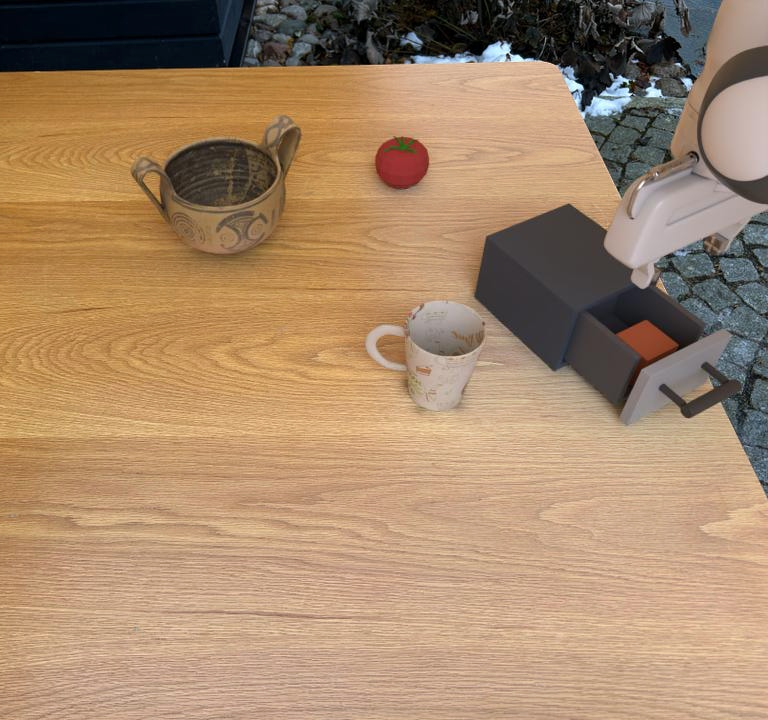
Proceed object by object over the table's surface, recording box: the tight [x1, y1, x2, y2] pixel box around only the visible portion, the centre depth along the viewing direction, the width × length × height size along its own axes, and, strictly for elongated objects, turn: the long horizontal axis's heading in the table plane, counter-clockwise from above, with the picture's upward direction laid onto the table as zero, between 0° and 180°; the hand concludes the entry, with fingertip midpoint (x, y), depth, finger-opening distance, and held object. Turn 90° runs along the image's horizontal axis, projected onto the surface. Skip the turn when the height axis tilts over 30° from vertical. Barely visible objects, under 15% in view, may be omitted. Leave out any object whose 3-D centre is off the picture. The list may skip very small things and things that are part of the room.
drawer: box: [563, 284, 743, 426], centre depth 80 cm, size 18×11×8 cm, turn 28°
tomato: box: [374, 135, 430, 189], centre depth 109 cm, size 8×8×8 cm
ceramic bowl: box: [130, 113, 303, 255], centre depth 98 cm, size 22×17×15 cm
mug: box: [364, 299, 488, 412], centre depth 80 cm, size 8×13×10 cm, turn 71°
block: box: [616, 320, 679, 387], centre depth 81 cm, size 4×4×4 cm
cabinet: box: [473, 203, 663, 372], centre depth 88 cm, size 15×13×10 cm
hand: (678, 266), depth 72 cm, fingers open, 8 cm apart
